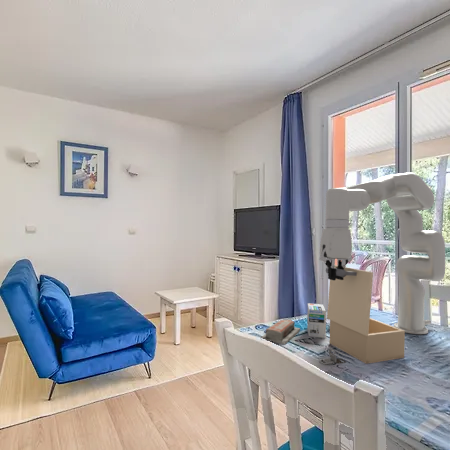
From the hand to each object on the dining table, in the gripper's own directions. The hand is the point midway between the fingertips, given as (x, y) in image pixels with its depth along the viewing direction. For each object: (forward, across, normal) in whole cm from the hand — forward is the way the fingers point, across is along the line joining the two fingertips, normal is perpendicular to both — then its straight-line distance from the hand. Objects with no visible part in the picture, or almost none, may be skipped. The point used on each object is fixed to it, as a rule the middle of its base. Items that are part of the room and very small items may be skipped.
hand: (335, 279), depth 107 cm
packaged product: (+26, +7, -22) cm, 35 cm away
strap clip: (+26, +4, +5) cm, 27 cm away
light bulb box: (+26, -7, -20) cm, 33 cm away
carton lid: (+6, -6, 0) cm, 9 cm away
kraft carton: (+25, -13, 0) cm, 29 cm away
